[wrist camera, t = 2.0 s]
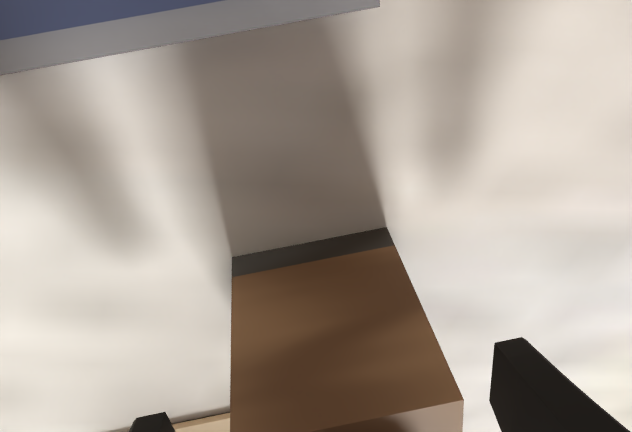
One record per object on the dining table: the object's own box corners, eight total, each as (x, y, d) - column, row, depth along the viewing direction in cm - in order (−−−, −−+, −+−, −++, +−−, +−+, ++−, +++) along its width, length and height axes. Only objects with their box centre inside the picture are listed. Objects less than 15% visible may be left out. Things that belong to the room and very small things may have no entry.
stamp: (386, 226, 13) (489, 456, 8) (394, 333, 15) (477, 566, 10) (232, 257, 13) (228, 511, 7) (263, 360, 15) (277, 610, 10)
